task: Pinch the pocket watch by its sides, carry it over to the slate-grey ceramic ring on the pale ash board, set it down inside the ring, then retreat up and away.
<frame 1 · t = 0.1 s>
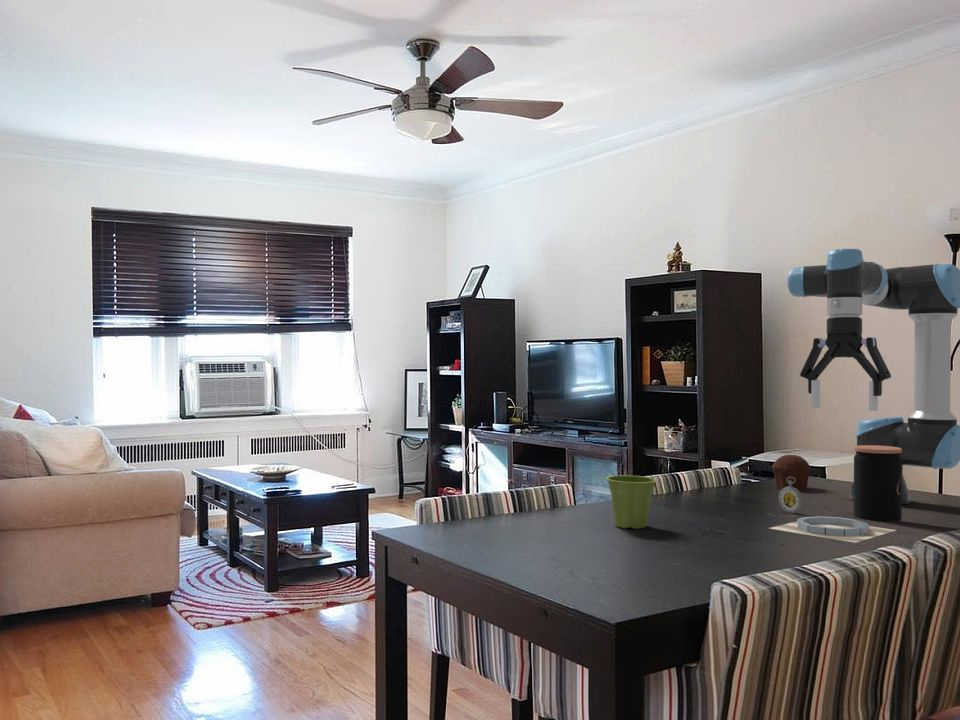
hand: (843, 409, 198), 28 cm above the table, fingers open, 13 cm apart
pocket watch: (785, 518, 214), on the table
coffee jar: (877, 522, 210), on the table
muffin: (791, 488, 263), on the table
ash board: (832, 533, 195), on the table
plant pot: (631, 527, 203), on the table
slate ring: (832, 529, 195), resting on ash board
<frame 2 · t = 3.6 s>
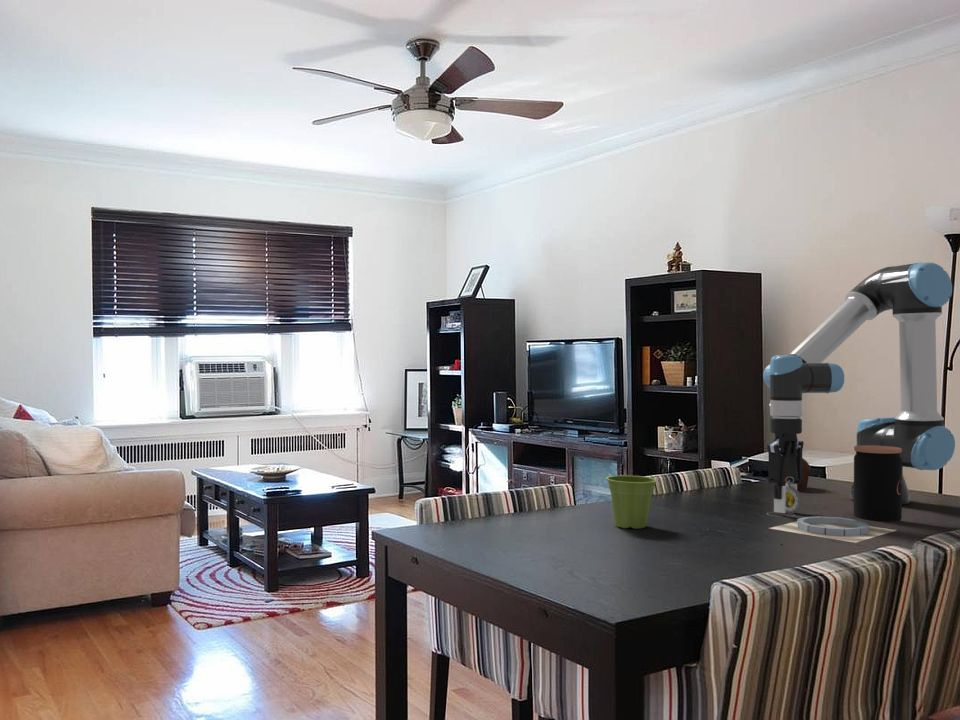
hand: (785, 510, 214), 2 cm above the table, fingers open, 5 cm apart
pocket watch: (784, 518, 214), on the table, touching gripper
everything else where it was.
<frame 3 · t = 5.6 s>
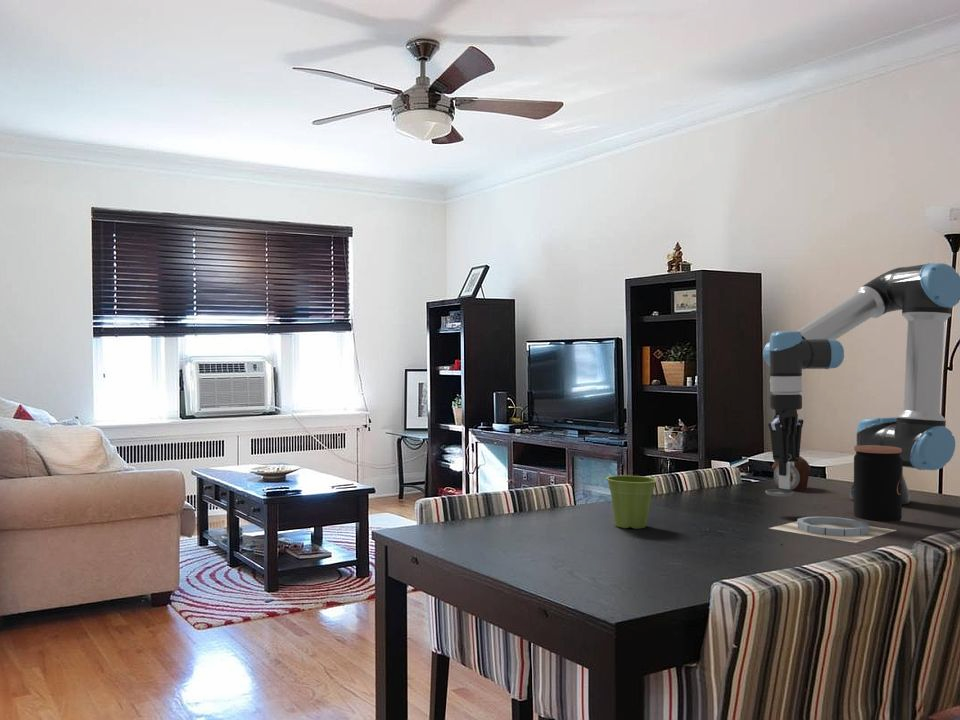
hand: (786, 487, 214), 7 cm above the table, fingers closed on pocket watch
pocket watch: (782, 495, 213), point 6 cm above the table, touching gripper
everything else where it was.
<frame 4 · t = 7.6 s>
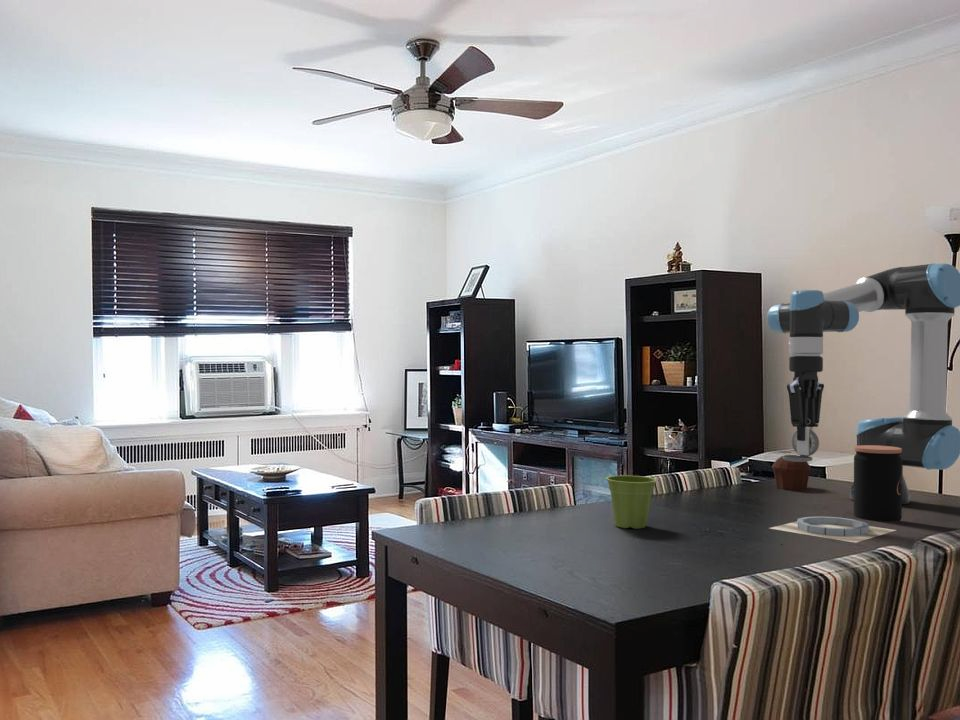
hand: (805, 454, 205), 17 cm above the table, fingers closed on pocket watch
pocket watch: (800, 461, 204), point 15 cm above the table, touching gripper
everything else where it was.
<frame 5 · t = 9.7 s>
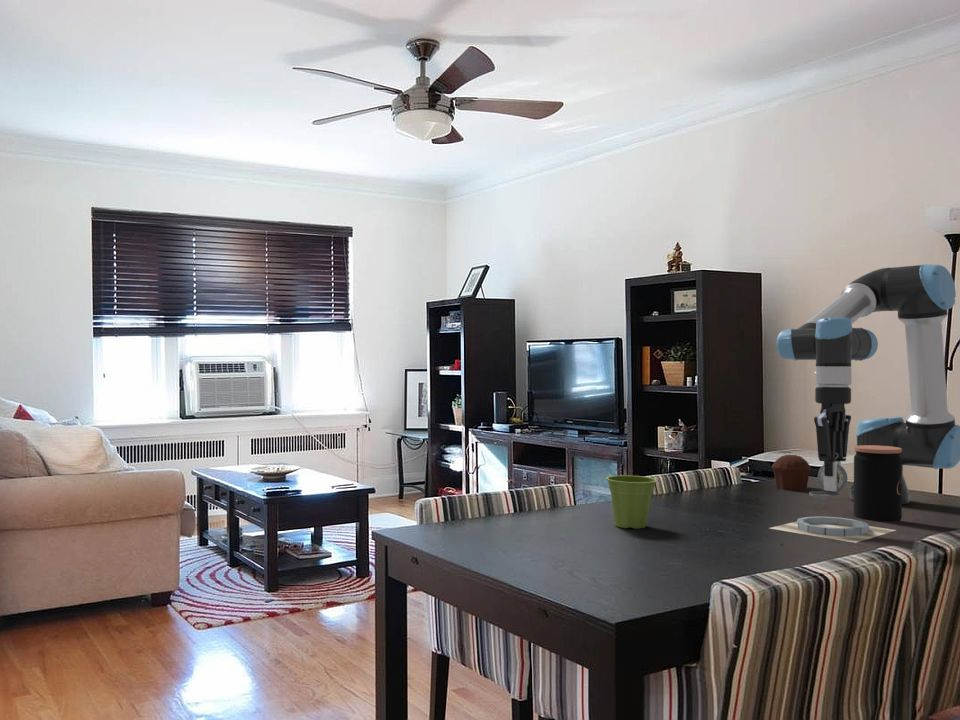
hand: (832, 490, 195), 10 cm above the table, fingers closed on pocket watch
pocket watch: (828, 498, 193), point 8 cm above the table, touching gripper
everything else where it was.
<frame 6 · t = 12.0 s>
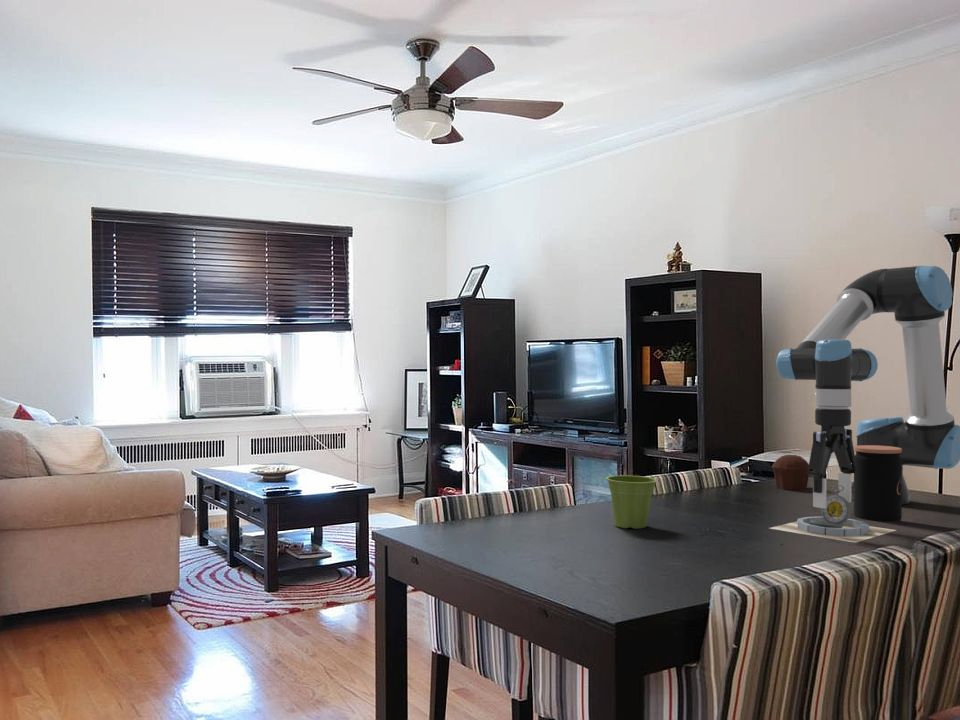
hand: (832, 504, 195), 7 cm above the table, fingers open, 11 cm apart
pocket watch: (829, 528, 193), point 1 cm above the table, touching ash board, slate ring
everything else where it was.
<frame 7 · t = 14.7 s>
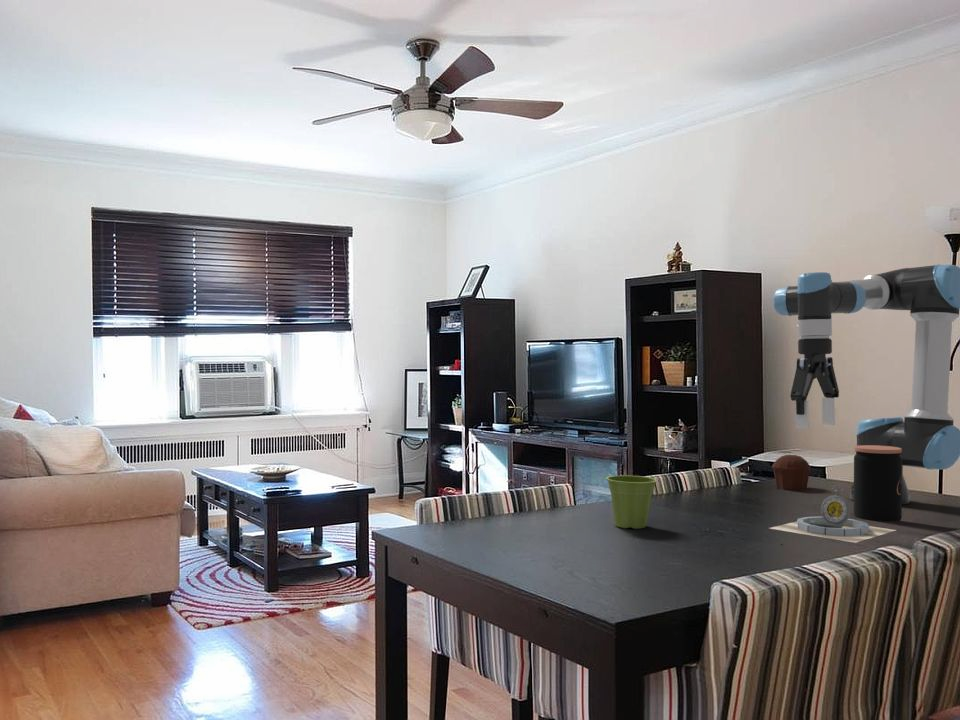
hand: (815, 426, 206), 23 cm above the table, fingers open, 13 cm apart
nothing on the table moved.
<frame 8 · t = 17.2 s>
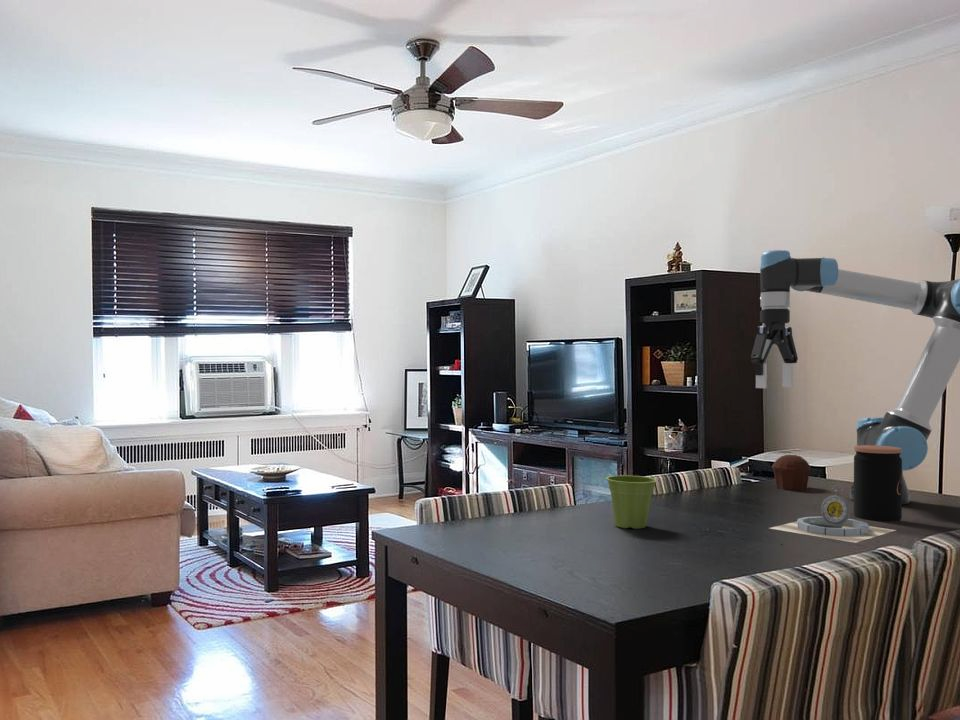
hand: (774, 387, 232), 32 cm above the table, fingers open, 13 cm apart
nothing on the table moved.
at the end: pocket watch 2.2 cm from the ash board (horizontally); pocket watch point 1.4 cm above the table; the gripper is holding nothing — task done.
